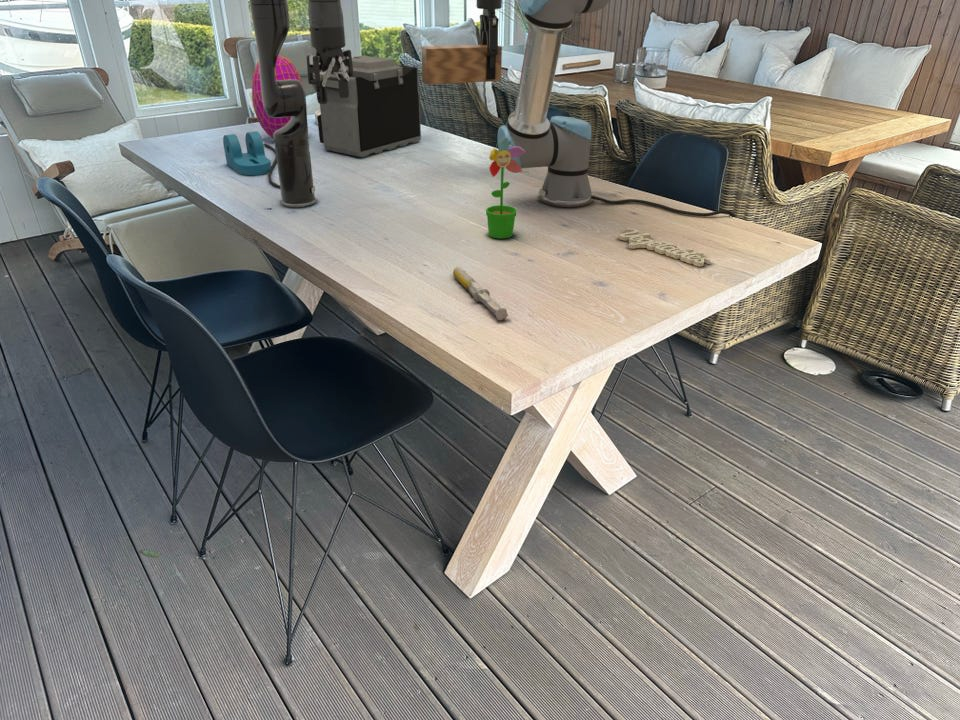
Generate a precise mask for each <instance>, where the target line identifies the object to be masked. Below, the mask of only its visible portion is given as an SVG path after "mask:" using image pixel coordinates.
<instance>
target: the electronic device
mask: <svg viewBox="0 0 960 720" xmlns="http://www.w3.org/2000/svg"><path fill="white" fill-rule="evenodd" d="M352 65H353V74H354V75H353V77H350V78H349V81H348V88H349V97H348V98H341V97H340V95H339V84H338V81H340V80H339V79H338V78H337V76H336V74H334V73H333V74H330V77H329V78H328V79H327V81H326V85H325V87H326V91H327V104H319V110H320V111H321V115H319V116H318V117H317V120H318V125H317V128H318V138H319V143H320V144H323V146H324V149H325V150H327V151H330V152H335V153H340V154H344V155H348V156H353V157H357V158H362V159H363V158H366V157H367V158H368V157H369V155H371V154H375V155H377V154H381V153H382V152H383V151H391V150H395V149H396V148H397V147H405V146H407V145H408V144H416V143H418V142H419V141H421V137H422V128H421V97H420V92H419V91H420V89H419V68H418V67H417V66H408V65H400V64H396V62H395V60H394V59H393V58H385V57H377V56H367V55H356V56H353V57H352ZM346 69H347V71H349V70H348V66H346ZM313 79H315V73H313ZM320 80H322V77H321V78H320ZM311 87H313V90H314V91H315V92H316V87H315V86H314V85H312V84H311Z"/></svg>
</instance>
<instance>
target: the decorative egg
mask: <svg viewBox="0 0 960 720" xmlns="http://www.w3.org/2000/svg"><path fill="white" fill-rule="evenodd" d="M253 70H254V71H253V73H252V77H251V101H252V107H253V110H254V114H255V116H256V118H257V121H258V123H259V125H260V127H261V128H262V130H263V131H264V133H266V135H267V136H268V137H270V138H271V139H273V140H274V137H273V135H274V132H275V131H276V130H278V129H280V128H282V127H283V126H285V125H286V124H287V123H288V122H289V121H290V119H291V117H281V118H270V117H269V116H268V115H267V114H266V112H265V110H264V106H263V102H262V95H261V84H260V72H259V60H257V62H256V65H255V68H254V69H253ZM291 79H296V80H299V81H300V82H301V84H302V86H303V88H304V84H303V81H302V77H301V75H300V73H299V71H298V69H297V67H296V66H295V65H294V63H293V62H292V61H291V60H290V59H288V58H287V57H285V56H282V55H280V54H279V55H278V58H277V61H276V68H275V81H277V80H291ZM304 89H305V88H304Z"/></svg>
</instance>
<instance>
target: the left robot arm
mask: <svg viewBox="0 0 960 720" xmlns="http://www.w3.org/2000/svg"><path fill="white" fill-rule="evenodd" d="M248 1H249V9H250V15H251V21H252V26H253V32H254V38H255V45H256V50H257V51H256V52H257V61H259V72H260V84H261V95H262V102H263V106H264V110H265V112H266V114H267V115H268V116H269V117H270V118H281V117H291V119H290V121H289V122H288V123H287V124H286V125H285V126H283V127H282V128H280V129H278V130H276V131H275V132H274V135H273V137H274V139H273V143H274V147H273V146H271V145H269V144H268V143H263V145H264V147H266V148H268V149H270V150H272V151H273V152H274V154H275V158H274V161H273V162H272V164H271V169H270V170H269V173H267V179H268V182H269V184H270V185H272V186H273V187H275V188H277V189H280V195H281V204H282V206H284V207H286V208H287V207H288V208H305V207H309V206H312V205H314V204H316V203H317V202H316V201H317V200H316V195H315V194H316V193H315V192H316V187H315V186H316V185H314V177H313V168H312V160H311V159H312V158H311V152H310V142H309V141H310V140H309V125H308V111H307V110H308V109H307V97H306V91H305V88H303V87H304V85H303V86H302V84H303V83H302V84H301V82H300V81H299V80H296V79H291V80H277V81H275V68H276V61H277V58H278V55H280V52H281V50H282V48H283V46H284V43H285V41H286V39H287V36H288V35H289V31H290V27H291V20H290V12H289V4H288V0H248ZM341 1H342V0H307V2H308V3H307V4H308V5H307V6H308V7H307V10H308V23H309V32H310V33H309V34H310V42H311V47H312V48H313V49H315V55H314V54H313V55H312V54H310V55H309V54H308V55H307V56H306V69H307V80H308V81H307V82H308V84H309V85H311V86H312V85H314V86H315V87H316V91H315V94H316V100H317V103H318V104H319V105H320V104H327V91H326V87H325V85H326V81H327V79H328V78H329V77H330V74H333V73H334V74H336V76H337V78H338V79H339V80H340V81H338V84H339V95H340V97H341V98H348V97H349V88H348V81H349V78H350V77H353V75H354V74H353V65H352V58H353V57H352V51H351V50H350V49H344V48H345V47H346V33H345V23H344V12H343V7H342V2H341ZM346 66H348V70H349V71H347V69H346ZM313 73H315V79H313ZM321 77H322V80H320V78H321ZM276 165H277V173H278V181H279V184H278V183H275V182H274V181H273V180H272V176H271V175H272V173H273V170H274V168H275V166H276Z"/></svg>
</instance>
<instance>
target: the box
mask: <svg viewBox="0 0 960 720" xmlns="http://www.w3.org/2000/svg"><path fill="white" fill-rule="evenodd" d="M420 52H421V81H422V82H423V83H424V84H426V85H440V84H462V83H463V84H465V83H484V82H485V83H488V82H502V65H503V64H502V62H503V59H502V58H503V46H502V45H498V55H496V71H495V79H492V80H487V79H486V60H487V57H486V56H485V55H486V54H488V52H487V45H480V44H462V45H461V44H460V45H457V44H456V45H455V44H454V45H427V46H426V45H424V46H422V45H421V46H420Z"/></svg>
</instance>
